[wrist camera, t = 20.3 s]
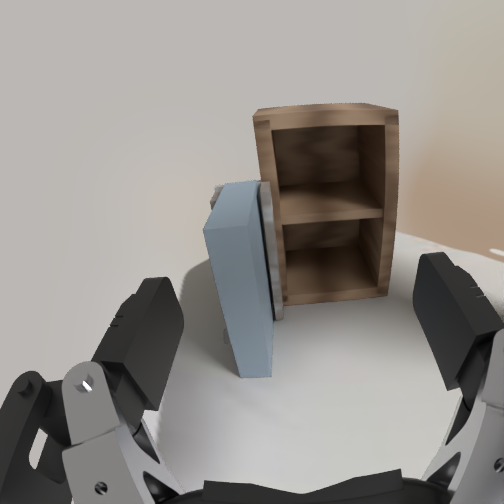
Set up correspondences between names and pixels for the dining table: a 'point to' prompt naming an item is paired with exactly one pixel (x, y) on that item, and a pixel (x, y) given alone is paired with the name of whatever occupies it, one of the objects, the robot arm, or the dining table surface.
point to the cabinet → (327, 200)
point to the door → (242, 276)
